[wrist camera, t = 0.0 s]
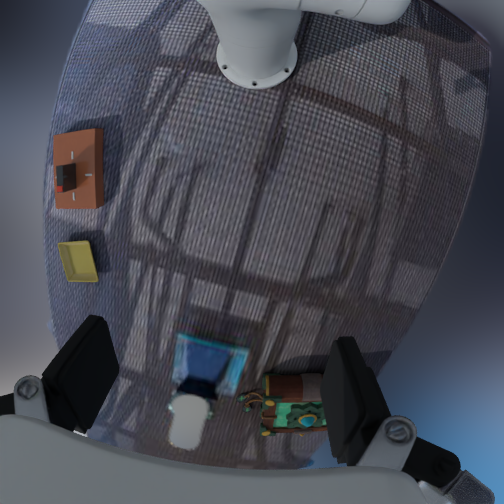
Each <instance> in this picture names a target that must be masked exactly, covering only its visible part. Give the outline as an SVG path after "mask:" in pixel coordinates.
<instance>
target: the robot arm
mask: <svg viewBox="0 0 504 504" xmlns="http://www.w3.org/2000/svg"><path fill="white" fill-rule="evenodd" d="M197 1H198V2H199V3H200V4H201V5H202V6H203V7H204V8H205V9H206V10H207V11H208V13H209V15H210V17H211V19H212V22H213V24H214V27H215V30H216V32H217V35H218V37H219V40H220V42H219V45H218V48H217V62H218V66H219V68H220V70H221V71H222V73H223V74H224V75H225V76H226V77H227V79H228V80H230V81H231V82H233V83H234V84H236V85H238V86H241V87H244V88H248V89H266V88H271V87H273V86H276V85H278V84H280V83H281V82H283V81H285V80H286V79H287V78H288V77H289V76H290V74H291V73H292V71H293V70H294V68H295V66H296V62H297V48H296V45H295V43H294V41H293V40H294V37H295V34H296V31H297V29H298V26H299V22H300V19H301V14H302V10H304V11H311V12H317V13H323V14H328V15H333V16H338V17H343V18H347V19H352V20H356V21H360V22H365V23H370V24H379V25H382V24H389V23H392V22H394V21H396V20H397V19H398V18H400V17H401V16H402V15H403V14H404V12H405V11H406V9H407V8H408V6H409V4H410V2H411V0H197ZM225 67H227V69H224V68H225ZM285 70H287V71H288V72H287V73H286V72H285ZM254 83H255V84H257V85H256V86H254V85H253V84H254ZM118 374H119V364H118V361H117V357H116V354H115V351H114V347H113V343H112V340H111V336H110V332H109V328H108V324H107V322H106V321H105V320H104V318H103V317H101V316H96V315H89V316H88V317H87V318H86V319H85V321H84V322H83V323H82V324H81V325H80V327H79V328H78V329H77V330H76V331H75V333H74V334H73V335H72V336H71V337H70V339H69V340H68V341H67V342H66V344H65V345H64V346H63V347H62V349H61V350H60V351H59V352H58V354H57V355H56V356H55V358H54V359H53V360H52V361H51V363H50V364H49V365H48V367H47V368H46V369H45V371H44V372H43V373H42V376H43V377H42V379H41V380H40V379H39V378H38V377H36V376H32V375H30V376H25V377H23V378H21V379H19V381H18V382H17V383H16V384H15V386H14V393H11V394H8V395H4V396H0V504H494V501H495V497H494V493H493V492H492V491H491V490H490V489H489V488H488V487H486V486H485V485H484V484H483V483H481V482H480V481H479V480H478V479H476V478H475V477H474V476H473V475H472V474H470V473H469V472H468V471H467V470H464V471H462V470H461V469H460V468H461V466H460V461H459V459H458V457H457V456H456V455H455V454H454V453H452V452H450V451H448V450H445V449H443V448H441V447H439V446H436V445H434V444H432V443H430V442H427V441H425V440H423V439H421V438H419V437H417V429H416V426H415V424H414V423H413V422H412V421H411V420H410V419H408V418H406V417H403V416H396V415H395V416H391V414H390V411H389V409H388V406H387V404H386V401H385V399H384V397H383V394H382V392H381V389H380V387H379V384H378V382H377V380H376V377H375V375H374V373H373V370H372V369H371V368H370V367H366V364H365V362H364V360H363V357H362V355H361V353H360V350H359V348H358V346H357V343H356V341H355V339H354V337H352V336H350V337H339V338H338V340H334V342H333V345H332V348H331V352H330V355H329V359H328V362H327V365H326V369H325V372H324V375H323V378H322V381H321V384H320V396H321V400H322V405H323V410H324V415H325V420H326V425H327V430H328V436H329V441H330V446H331V451H332V455H333V457H337V462H338V464H340V463H347V467H334V468H319V469H299V470H254V469H236V468H224V467H214V466H205V465H198V464H191V463H184V462H179V461H173V460H168V459H163V458H158V457H153V456H149V455H145V454H141V453H137V452H133V451H129V450H125V449H122V448H118V447H115V446H112V445H108V444H105V443H102V442H99V441H96V440H93V439H91V438H88V437H85V436H82V435H79V434H77V433H74V432H73V431H74V430H75V431H78V432H80V433H83V434H85V433H86V431H87V429H90V428H91V427H92V425H93V423H94V421H95V419H96V417H97V415H98V413H99V411H100V409H101V407H102V405H103V403H104V401H105V399H106V397H107V395H108V393H109V391H110V389H111V387H112V385H113V383H114V381H115V379H116V378H117V376H118Z"/></svg>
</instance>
